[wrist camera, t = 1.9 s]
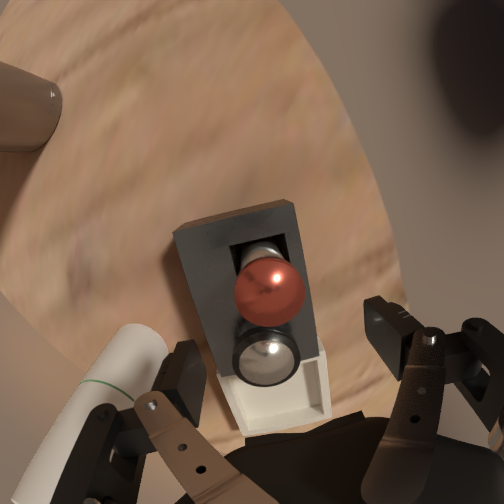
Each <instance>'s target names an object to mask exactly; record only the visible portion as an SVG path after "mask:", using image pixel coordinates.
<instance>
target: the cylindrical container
mask: <svg viewBox="0 0 504 504" xmlns="http://www.w3.org/2000/svg"><path fill="white" fill-rule="evenodd" d="M167 355H168V349H167V346H166V344H165V342H164V340H163V339H162V337H161V336H160V335H159V334H158V333H157V332H155V331H154V330H153V329H151V328H149V327H147V326H144V325H142V324H136V323H130V324H126V325H124V326H122V327H121V328H119V329H118V331H117V332H116V333H115V335H114V336H113V337H112V339H111V340H110V341H109V343H108V344H107V345H106V347H105V348H104V350H103V351H102V352H101V354H100V355H99V357H98V358H97V359H96V361H95V362H94V364H93V365H92V366H91V368H90V369H89V371H88V372H87V374H86V375H85V377H84V378H83V379H82V381H81V382H80V384H79V385H78V387H77V388H76V390H75V391H74V393H73V394H72V395H71V397H70V399H69V400H68V402H67V403H66V405H65V406H64V408H63V409H62V411H61V413H60V414H59V416H58V417H57V419H56V420H55V422H54V424H53V425H52V427H51V428H50V430H49V432H48V433H47V435H46V437H45V438H44V440H43V442H42V443H41V445H40V447H39V449H38V450H37V452H36V454H35V455H34V457H33V459H32V461H31V462H30V464H29V466H28V468H27V470H26V471H25V473H24V475H23V477H22V479H21V481H20V483H19V485H18V487H17V489H16V491H15V493H14V495H13V497H12V499H11V500H12V501H13V502H14V503H15V504H50V501H51V499H52V496H53V494H54V491H55V489H56V486H57V484H58V481H59V479H60V476H61V474H62V471H63V469H64V467H65V464H66V462H67V460H68V458H69V455H70V453H71V451H72V449H73V446H74V444H75V442H76V440H77V438H78V436H79V434H80V431H81V429H82V427H83V425H84V423H85V421H86V419H87V417H88V415H89V413H90V411H91V410H92V409H93V408H95V407H96V406H98V405H100V404H103V403H111V404H113V405H114V406H115V407H116V408H117V410H118V411H121V410H125V409H129V408H132V407H134V403H135V401H136V400H137V398H138V397H140V396H141V395H143V394H144V393H147V392H150V391H151V388H152V386H153V383H154V381H155V378H156V376H157V374H158V371H159V368H160V366H161V364H162V361H163V360H164V358H165V357H166V356H167ZM113 453H114V450H113V449H112V452H111V455H110V462H111V459H112V456H113Z"/></svg>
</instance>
